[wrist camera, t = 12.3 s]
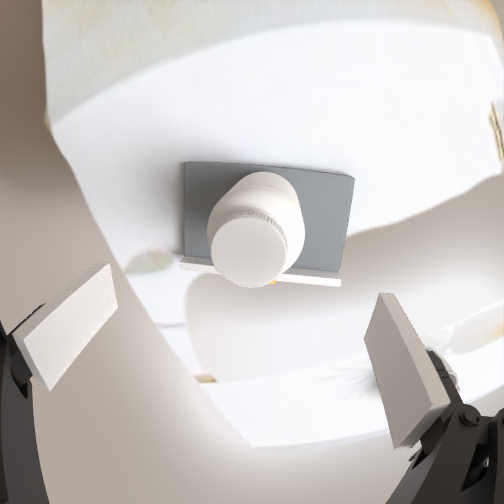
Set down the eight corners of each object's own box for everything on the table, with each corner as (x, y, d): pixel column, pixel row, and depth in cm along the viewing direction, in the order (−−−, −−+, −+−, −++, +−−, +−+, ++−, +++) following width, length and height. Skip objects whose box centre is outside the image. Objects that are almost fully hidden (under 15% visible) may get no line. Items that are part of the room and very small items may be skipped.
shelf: (190, 161, 33) (178, 164, 30) (350, 176, 32) (359, 180, 28) (189, 260, 38) (180, 273, 35) (334, 276, 37) (338, 290, 33)
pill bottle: (222, 224, 34) (180, 282, 20) (243, 161, 31) (209, 176, 17) (283, 246, 34) (282, 318, 20) (308, 185, 31) (329, 219, 17)
